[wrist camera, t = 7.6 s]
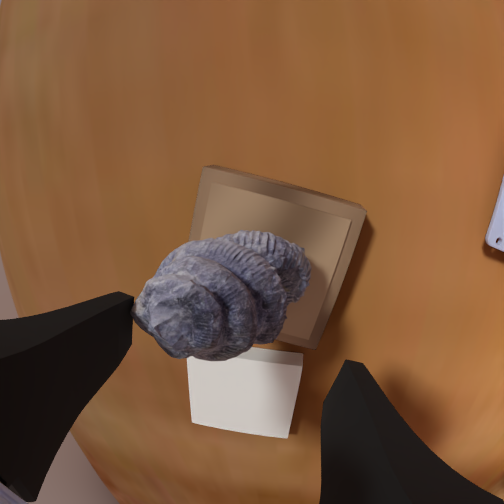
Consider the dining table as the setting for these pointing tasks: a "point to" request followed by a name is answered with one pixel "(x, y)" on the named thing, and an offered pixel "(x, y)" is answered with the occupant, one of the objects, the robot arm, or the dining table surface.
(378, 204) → the dining table surface
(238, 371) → the ceramic tile
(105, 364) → the robot arm
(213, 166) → the walnut base
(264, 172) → the dining table surface
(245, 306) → the seashell
